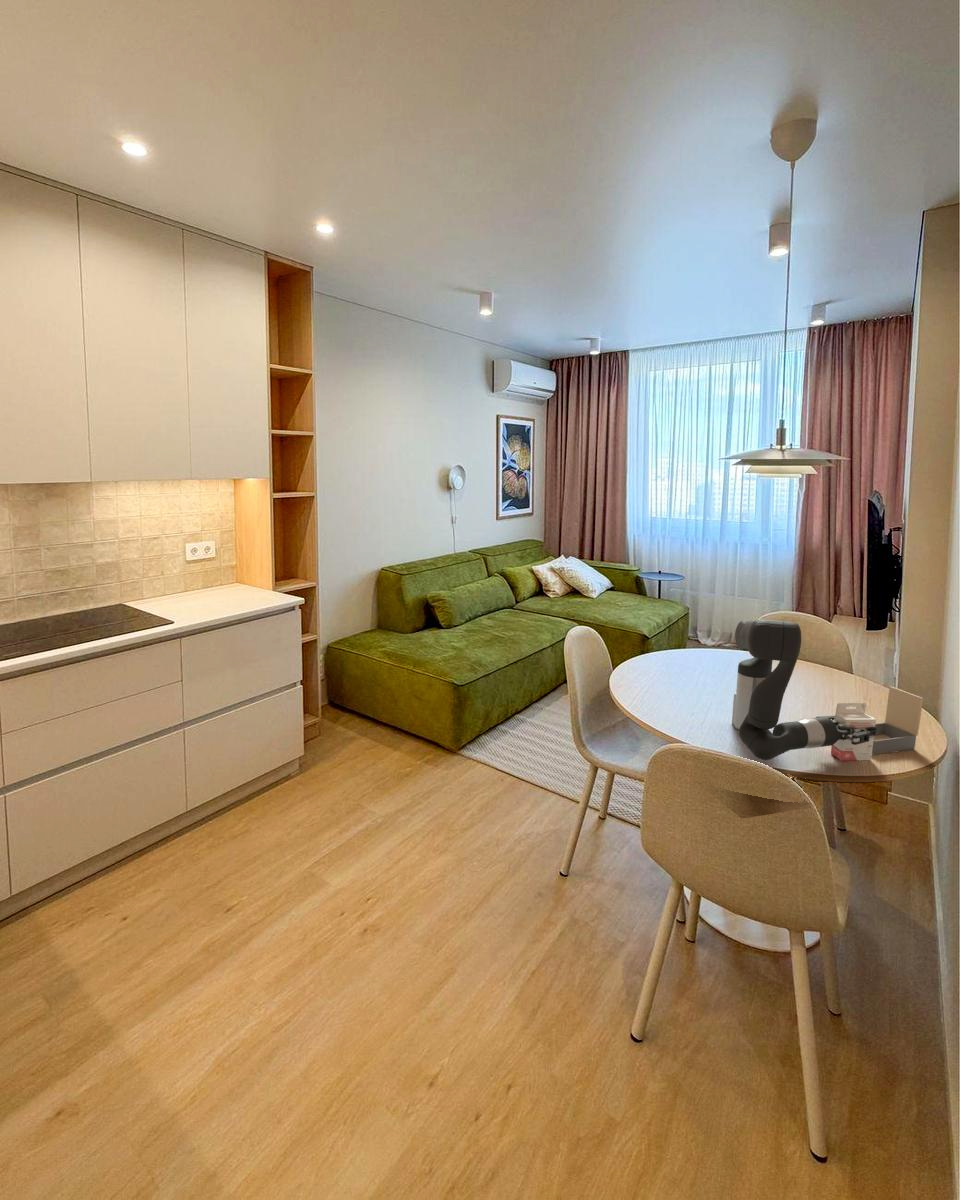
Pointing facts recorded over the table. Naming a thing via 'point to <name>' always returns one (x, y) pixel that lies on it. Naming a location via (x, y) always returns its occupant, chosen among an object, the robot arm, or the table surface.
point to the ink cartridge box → (851, 718)
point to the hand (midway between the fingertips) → (865, 726)
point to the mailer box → (898, 723)
